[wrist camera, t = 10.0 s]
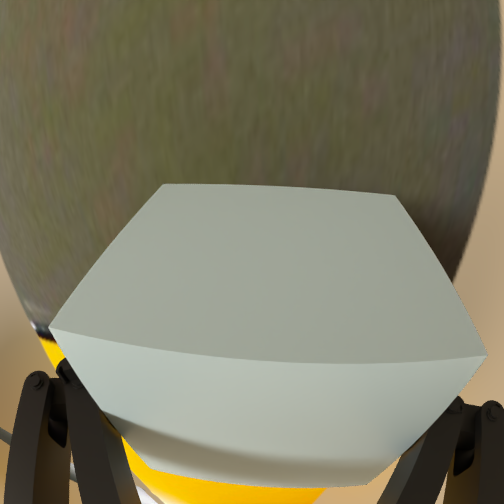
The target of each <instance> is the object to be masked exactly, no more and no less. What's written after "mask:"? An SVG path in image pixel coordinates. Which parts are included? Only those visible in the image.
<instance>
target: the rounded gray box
mask: <svg viewBox="0 0 504 504" xmlns="http://www.w3.org/2000/svg"><path fill="white" fill-rule="evenodd" d="M49 329H50V331H51V333H52V335H53V336H54V338H55V340H56V342H57V343H58V345H59V347H60V349H61V350H62V352H63V354H64V355H65V357H66V359H67V360H68V362H69V363H70V365H71V367H72V368H73V370H74V371H75V373H76V374H77V376H78V377H79V379H80V380H81V382H82V383H83V385H84V386H85V388H86V389H87V391H88V392H89V394H90V395H91V396H92V398H93V399H94V401H95V402H96V403H97V405H98V406H99V407H100V409H101V410H102V411H103V413H104V414H105V415H106V417H107V418H108V419H109V421H110V422H111V423H112V424H113V426H114V427H115V428H116V429H117V431H118V432H119V433H120V434H121V436H122V437H123V438H124V439H125V440H126V442H127V443H128V444H129V445H130V446H131V447H132V449H133V450H134V451H135V452H136V453H137V454H138V455H139V456H140V458H141V459H142V460H143V461H144V462H145V463H146V464H147V465H148V466H149V467H150V468H151V469H154V470H158V471H162V472H166V473H171V474H176V475H181V476H186V477H191V478H197V479H203V480H209V481H216V482H223V483H231V484H240V485H251V486H264V487H284V488H326V487H346V486H358V485H367V484H368V483H369V482H371V481H372V480H373V479H374V478H376V477H377V476H378V475H379V474H380V473H381V472H383V471H384V470H385V469H386V468H387V467H388V466H390V465H391V464H392V463H393V462H394V461H395V460H396V459H397V458H399V457H400V456H401V455H402V454H403V453H404V452H405V451H406V450H407V449H408V448H409V447H410V446H411V445H412V444H413V443H414V442H415V441H416V440H417V439H418V438H419V437H420V436H421V435H422V434H423V433H424V432H425V431H426V430H427V429H428V428H429V427H430V426H431V425H432V424H433V423H434V422H435V421H436V420H437V419H438V418H439V416H440V415H441V414H442V413H443V412H444V411H445V410H446V409H447V407H448V406H449V405H450V404H451V403H452V402H453V400H454V399H455V398H456V397H457V396H458V394H459V393H460V392H461V391H462V389H463V388H464V387H465V386H466V384H467V383H468V382H469V381H470V379H471V378H472V377H473V375H474V374H475V373H476V371H477V370H478V368H479V367H480V366H481V364H482V363H483V362H484V360H485V359H486V357H487V356H488V354H487V351H486V349H485V347H484V345H483V343H482V341H481V338H480V336H479V334H478V332H477V330H476V328H475V326H474V324H473V322H472V320H471V318H470V316H469V314H468V312H467V310H466V308H465V306H464V305H463V303H462V301H461V299H460V297H459V295H458V294H457V292H456V290H455V288H454V286H453V284H452V283H451V281H450V279H449V277H448V276H447V274H446V272H445V271H444V269H443V267H442V266H441V264H440V262H439V261H438V259H437V257H436V256H435V254H434V252H433V251H432V249H431V248H430V246H429V245H428V243H427V241H426V240H425V238H424V237H423V235H422V234H421V232H420V231H419V229H418V228H417V226H416V225H415V223H414V222H413V220H412V219H411V217H410V216H409V215H408V213H407V212H406V210H405V209H404V207H403V206H402V205H401V203H400V202H399V200H398V199H397V198H396V196H395V195H387V194H377V193H366V192H355V191H343V190H331V189H316V188H301V187H282V186H260V185H227V184H163V185H162V186H161V187H160V188H159V189H158V190H157V191H156V192H155V194H154V195H153V196H152V197H151V198H150V199H149V200H148V201H147V202H146V203H145V205H144V206H143V207H142V208H141V209H140V210H139V211H138V212H137V214H136V215H135V216H134V217H133V218H132V219H131V220H130V222H129V223H128V224H127V225H126V226H125V227H124V229H123V230H122V231H121V232H120V233H119V234H118V236H117V237H116V238H115V239H114V240H113V242H112V243H111V244H110V245H109V247H108V248H107V249H106V250H105V251H104V253H103V254H102V255H101V256H100V258H99V259H98V260H97V261H96V263H95V264H94V265H93V267H92V268H91V269H90V270H89V272H88V273H87V274H86V276H85V277H84V278H83V279H82V281H81V282H80V283H79V285H78V286H77V287H76V289H75V290H74V292H73V293H72V294H71V296H70V297H69V298H68V300H67V301H66V302H65V304H64V305H63V307H62V308H61V309H60V311H59V312H58V314H57V315H56V317H55V318H54V320H53V321H52V322H51V324H50V325H49Z"/></svg>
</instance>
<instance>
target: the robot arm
mask: <svg viewBox="0 0 504 504" xmlns="http://www.w3.org/2000/svg"><path fill="white" fill-rule="evenodd" d="M56 373H57V375H58V376H59V378H49V376H48V375H47V374H46V373H45V372H43V371H35V372H33V373H31V374H30V375H29V376H28V377H27V378H26V380H25V382H24V385H23V389H22V393H21V397H20V402H19V405H18V410H17V414H16V419H15V423H14V428H13V434H12V439H11V445H10V451H9V458H8V465H7V473H6V483H5V493H4V504H69V479H70V460H71V450H72V456H73V462H74V468H75V473H76V478H77V483H78V487H79V491H80V496H81V500H82V504H141V501H140V498H139V495H138V492H137V489H136V486H135V483H134V480H133V477H132V474H131V470H130V467H129V464H128V460H127V456H126V453H125V449H124V445H123V442H122V438H121V434H120V433H119V432H118V431H117V429H116V428H115V427H114V426H113V424H112V423H111V422H110V421H109V419H108V418H107V417H106V415H105V414H104V413H103V411H102V410H101V409H100V407H99V406H98V405H97V403H96V402H95V401H94V399H93V398H92V396H91V395H90V394H89V392H88V391H87V389H86V388H85V386H84V385H83V383H82V382H81V380H80V379H79V377H78V376H77V374H76V373H75V371H74V370H73V368H72V367H71V365H70V363H69V362H68V360H67V359H66V358H64V359H63V360H62V361H60V362H59V364H58V366H57V368H56ZM447 472H448V474H447ZM446 474H447V482H446V488H445V495H444V501H443V504H504V409H503V407H502V405H501V404H500V403H498V402H496V401H493V400H490V401H487V402H486V403H484V404H483V405H482V406H475V405H469V404H465V403H464V401H463V400H462V399H461V397H459V396H457V397H456V398H455V399H454V400H453V402H452V403H451V404H450V405H449V406H448V407H447V409H446V410H445V411H444V412H443V413H442V414H441V415H440V416H439V418H438V419H437V420H436V421H435V422H434V423H433V424H432V425H431V426H430V427H429V428H428V429H427V430H426V431H425V432H424V433H423V434H422V435H421V436H420V437H419V438H418V439H417V440H416V441H415V442H414V443H413V444H412V445H411V446H410V447H409V448H408V449H407V450H406V451H405V452H404V453H403V454H402V455H401V457H400V459H399V462H398V464H397V466H396V468H395V470H394V472H393V474H392V476H391V478H390V480H389V482H388V484H387V486H386V488H385V490H384V491H383V493H382V495H381V497H380V499H379V501H378V502H377V504H435V502H436V500H437V497H438V495H439V493H440V490H441V488H442V485H443V482H444V480H445V477H446Z"/></svg>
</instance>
